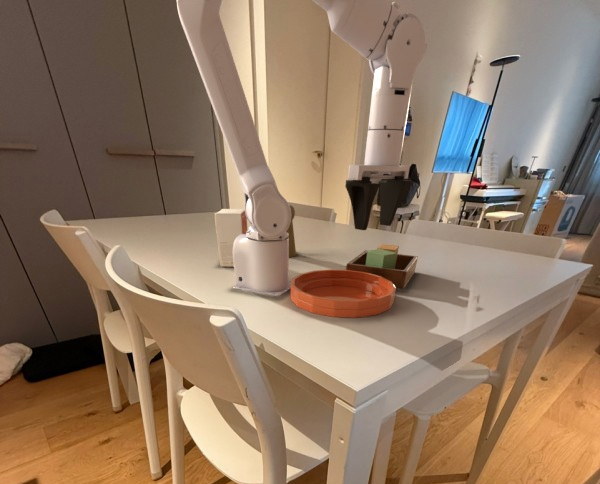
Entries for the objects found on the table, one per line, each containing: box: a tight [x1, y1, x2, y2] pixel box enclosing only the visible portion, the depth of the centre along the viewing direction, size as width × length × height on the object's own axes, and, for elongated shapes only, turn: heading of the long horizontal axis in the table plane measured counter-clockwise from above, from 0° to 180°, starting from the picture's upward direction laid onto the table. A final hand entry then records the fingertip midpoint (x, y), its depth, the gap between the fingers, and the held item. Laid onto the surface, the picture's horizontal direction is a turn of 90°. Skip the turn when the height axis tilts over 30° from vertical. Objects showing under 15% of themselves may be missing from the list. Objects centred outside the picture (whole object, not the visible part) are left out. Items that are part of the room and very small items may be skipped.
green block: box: [366, 248, 397, 269], centre depth 65 cm, size 4×4×5 cm
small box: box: [214, 208, 248, 268], centre depth 74 cm, size 8×6×10 cm
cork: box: [286, 204, 297, 258], centre depth 82 cm, size 6×6×11 cm
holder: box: [345, 249, 419, 290], centre depth 68 cm, size 11×13×4 cm
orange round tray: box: [290, 269, 397, 319], centre depth 57 cm, size 17×17×3 cm
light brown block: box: [376, 243, 400, 269], centre depth 69 cm, size 4×4×5 cm
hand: (373, 227), depth 61 cm, fingers open, 7 cm apart
